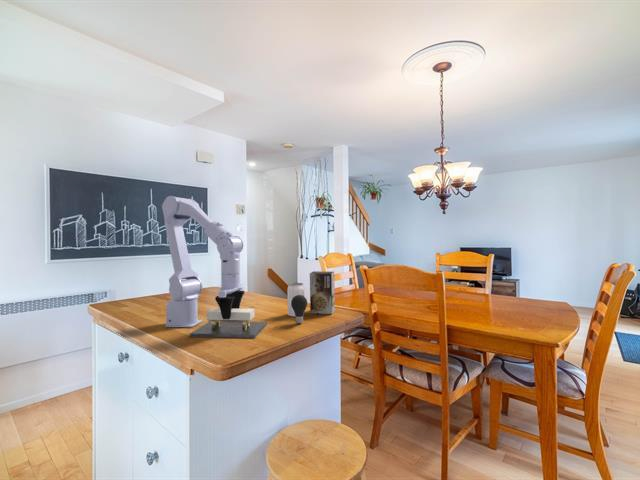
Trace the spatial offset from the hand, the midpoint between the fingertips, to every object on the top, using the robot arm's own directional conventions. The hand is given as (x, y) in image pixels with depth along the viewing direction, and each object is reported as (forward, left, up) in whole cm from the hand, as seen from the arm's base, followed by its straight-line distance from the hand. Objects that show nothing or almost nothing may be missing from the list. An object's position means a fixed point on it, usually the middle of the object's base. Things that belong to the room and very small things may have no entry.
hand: (230, 315), depth 98 cm
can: (+18, +21, -5) cm, 28 cm away
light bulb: (+21, +9, -5) cm, 23 cm away
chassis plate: (0, 0, -5) cm, 5 cm away
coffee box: (+28, +26, -5) cm, 39 cm away
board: (0, 0, -1) cm, 1 cm away
